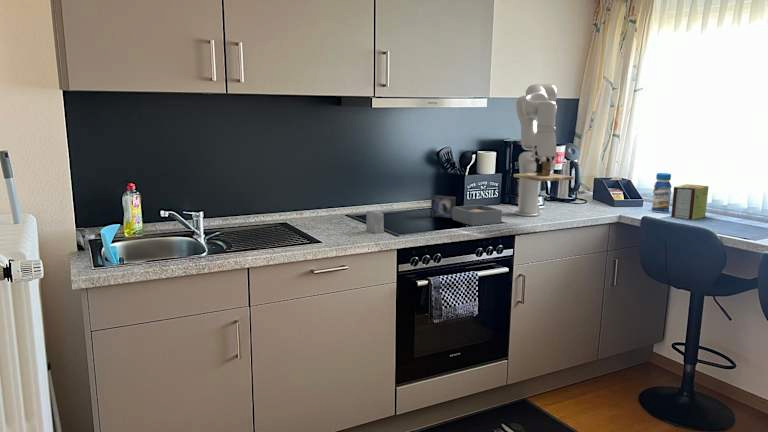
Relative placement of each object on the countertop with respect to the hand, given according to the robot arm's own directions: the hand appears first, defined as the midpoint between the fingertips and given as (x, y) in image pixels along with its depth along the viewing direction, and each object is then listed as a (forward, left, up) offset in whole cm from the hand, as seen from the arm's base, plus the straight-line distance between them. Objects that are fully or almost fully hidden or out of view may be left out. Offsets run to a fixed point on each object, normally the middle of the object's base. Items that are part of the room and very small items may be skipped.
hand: (543, 172), depth 253 cm
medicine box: (+70, -25, -26) cm, 78 cm away
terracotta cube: (+19, -22, -24) cm, 38 cm away
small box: (+26, -40, -26) cm, 54 cm away
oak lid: (0, 0, -3) cm, 3 cm away
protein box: (-87, +9, -26) cm, 91 cm away
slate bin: (+19, -22, -25) cm, 38 cm away
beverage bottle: (-87, -7, -25) cm, 91 cm away
